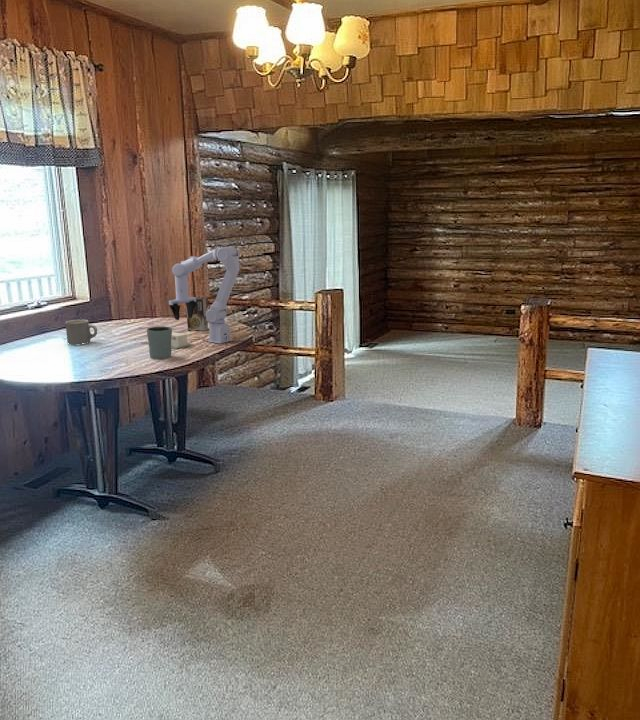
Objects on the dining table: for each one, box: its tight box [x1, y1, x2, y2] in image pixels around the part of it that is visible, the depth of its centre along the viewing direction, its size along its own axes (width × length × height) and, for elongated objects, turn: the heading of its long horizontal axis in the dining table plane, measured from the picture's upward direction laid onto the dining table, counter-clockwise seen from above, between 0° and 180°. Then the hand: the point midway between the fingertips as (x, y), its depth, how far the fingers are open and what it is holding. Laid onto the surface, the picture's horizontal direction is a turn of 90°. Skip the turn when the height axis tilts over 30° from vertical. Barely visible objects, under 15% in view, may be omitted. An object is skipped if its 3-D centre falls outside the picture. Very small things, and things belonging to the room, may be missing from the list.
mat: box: [140, 340, 194, 350], centre depth 289 cm, size 24×11×1 cm, turn 51°
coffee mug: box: [65, 319, 98, 345], centre depth 293 cm, size 13×10×10 cm
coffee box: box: [185, 297, 209, 331], centre depth 321 cm, size 9×6×16 cm
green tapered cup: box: [146, 325, 173, 360], centre depth 262 cm, size 10×10×12 cm
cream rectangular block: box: [171, 331, 188, 347], centre depth 285 cm, size 10×5×5 cm, turn 51°
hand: (183, 318), depth 297 cm, fingers open, 7 cm apart
